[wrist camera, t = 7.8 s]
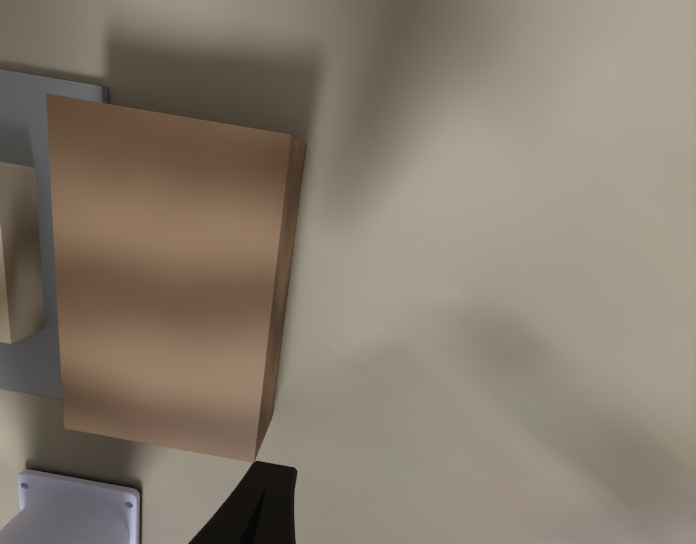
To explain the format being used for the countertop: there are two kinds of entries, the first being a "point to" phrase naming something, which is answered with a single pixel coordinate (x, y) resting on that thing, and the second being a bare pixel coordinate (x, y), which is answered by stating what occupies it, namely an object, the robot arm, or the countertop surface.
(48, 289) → the slate mat
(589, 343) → the countertop surface
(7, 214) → the birch tile
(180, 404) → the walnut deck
